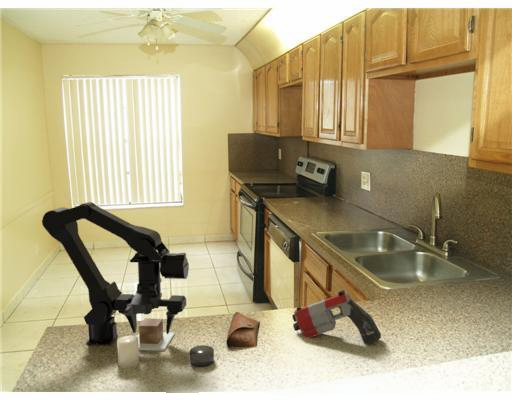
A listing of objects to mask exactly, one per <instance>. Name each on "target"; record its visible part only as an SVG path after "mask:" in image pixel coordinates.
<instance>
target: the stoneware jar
mask: <svg viewBox="0 0 512 400" xmlns="http://www.w3.org/2000/svg"><path fill="white" fill-rule="evenodd" d="M136 336H137V335H124V336H122V337H120V338H119V337H118V339H117V340H116V343H117V347H116V348H117V364H118V367H119V368H121V369H122V368H123V369H129V368H130V369H131V368H134V367H136V366H138V365H139V363H140V352H139V351H140V350H139V345H138V337H136Z"/></svg>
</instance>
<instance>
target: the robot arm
mask: <svg viewBox="0 0 512 400" xmlns="http://www.w3.org/2000/svg"><path fill="white" fill-rule="evenodd" d="M83 219H84V220H86V221H87V222H90V223H92V224H94V225H96V226H98V227H100V228H102V229H104V230H105V231H107V232H109V233H111V234H112V235H114V236H116V237H119V238H121V239H122V240H123V241H125V243H126V244H127V245H128V246H129V248H130V249H132V250H133V251H135V254H134V255H133V257H131V259H129V262H130V263H137V273H138V275H137V276H138V283H137V285H136V292H135V294H130V293H123V292H122V291H121V290H120V289H119V287H118V285H117V282H115V281H112V282H111V283H110V282H109V281H107V280H106V279H105V278H104V277H103V274H102V272H101V271H100V270H99V268H98V266H97V264H96V262H95V261H94V259H93V257H92V256H91V254H90V252H89V251H88V249H87V247H86V245H85V243H84V242H83V240H82V239H81V237H80V234H79V226H78V225H79V224H78V222H77V221H81V220H83ZM41 224H42V227H43V228H44V229H45V231H46V232H47V233H48V234H49V236H50V237H52V238H53V239H55V240H56V241H57V242H59V243H60V244H61V245H62V247H63V249H64V250H65V253H66V254H67V255H68V257H69V259H70V260H71V262H72V264H73V265H74V267H75V270H76V271H77V272H78V275H79V276H80V278H81V280H82V281H83V283H84V285H85V287H86V288H87V290H88V299H89V300H88V301H89V304H90V307H91V309H90V311H89V312H87V314H85V315H84V316H83V320H84V321H85V324H86V325H87V327H88V340H87V341H86V342H85V343H86V345H92V346H93V345H95V346H96V345H97V346H98V345H99V346H103V345H104V346H109V345H111V344H112V342H113V341H115V339H116V338H117V337H118V335H119V334H118V332H117V331H118V327H117V322H116V320H115V319H116V317H115V316H113V315H114V314H116V312H117V311H118V313H119V314H122V315H123V316H125V318H126V319H127V321H128V324H129V326H130V328H131V330H132V332H133V334H136V333H137V326H138V323H137V322H138V321H137V315H139V314H141V315H143V314H144V315H149V314H151V313H152V311H153V310H154V309H159V307H162V308H163V307H164V308H165V307H166V310H167V312H165V315H166V328H165V329H166V330H165V331H166V332H167V334H169V332H171V331H170V330H171V328H172V324H173V321H174V319H175V316H177V315H178V314H179V313H181V312H183V311H184V310H185V308H186V306H187V297H186V296H185V295H178V294H177V295H176V294H174V295H173V294H172V295H171V296H170V297H169V298H167V299H165V298H163V299H162V297H163V293H162V291H161V283H162V278H164V279H171V280H173V279H175V280H176V279H177V280H180V279H181V280H182V279H183V280H187V279H188V277H189V271H190V269H189V268H190V267H189V265H190V264H189V260H188V258H187V253H186V252H180V253H176V252H175V253H171V252H170V250H169V249H168V247H167V246H166V245H165V244H164V242H163V241H162V237H161V234H160V233H159V232H158V231H157V230H154V229H151V228H147V227H145V226H140V225H135V224H133V223H131V222H128V221H126V220H125V219H123V218H121V217H118V216H116V215H115V214H113V213H112V212H109V211H107V210H105V209H103V208H102V207H99V206H98V205H97V204H95V203H94V202H91V201H87V202H84V203H81V204H78V205H77V206H74V207H71V208H68V207H59V208H55V209H52V210H51V209H50V210H48V211H46V212H45V213H44V214H43V216H42V219H41Z"/></svg>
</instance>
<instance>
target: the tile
mask: <svg viewBox="0 0 512 400" xmlns="http://www.w3.org/2000/svg"><path fill="white" fill-rule="evenodd" d="M175 335H176V334H175V332H171V331H169V334H167V332H165V331H163V337H162V339H161V340H160V341H159V343H158V344H143V343H140V340H139V333H138V334H136V335H135V336H136V337H138V345H139V351H163V352H164V351H166V349H167V347H168V346H169V344H170V343H171V341H172V339H173V338H174V336H175Z"/></svg>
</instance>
